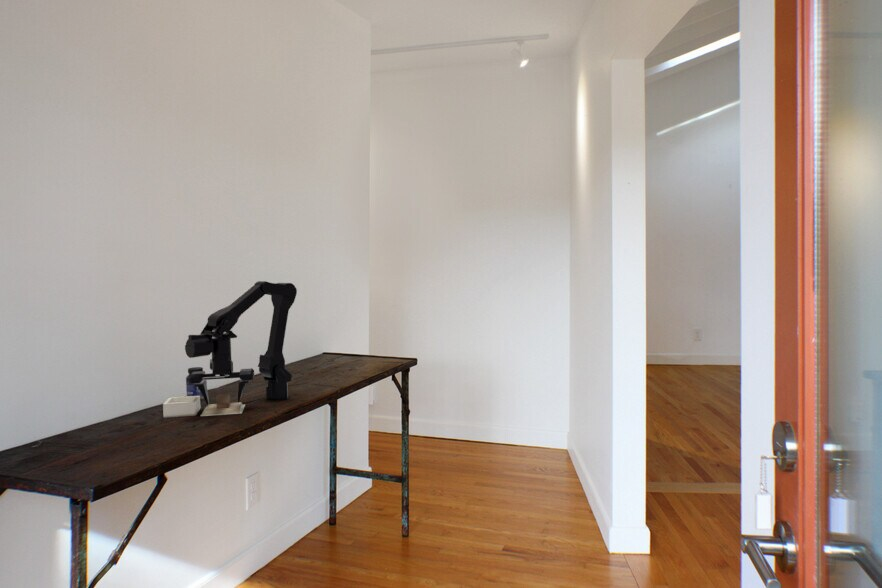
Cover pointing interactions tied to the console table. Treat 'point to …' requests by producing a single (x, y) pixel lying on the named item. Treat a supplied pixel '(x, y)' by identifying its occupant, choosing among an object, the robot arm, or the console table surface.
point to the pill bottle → (191, 388)
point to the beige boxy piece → (181, 406)
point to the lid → (223, 406)
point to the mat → (227, 413)
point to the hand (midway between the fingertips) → (223, 403)
